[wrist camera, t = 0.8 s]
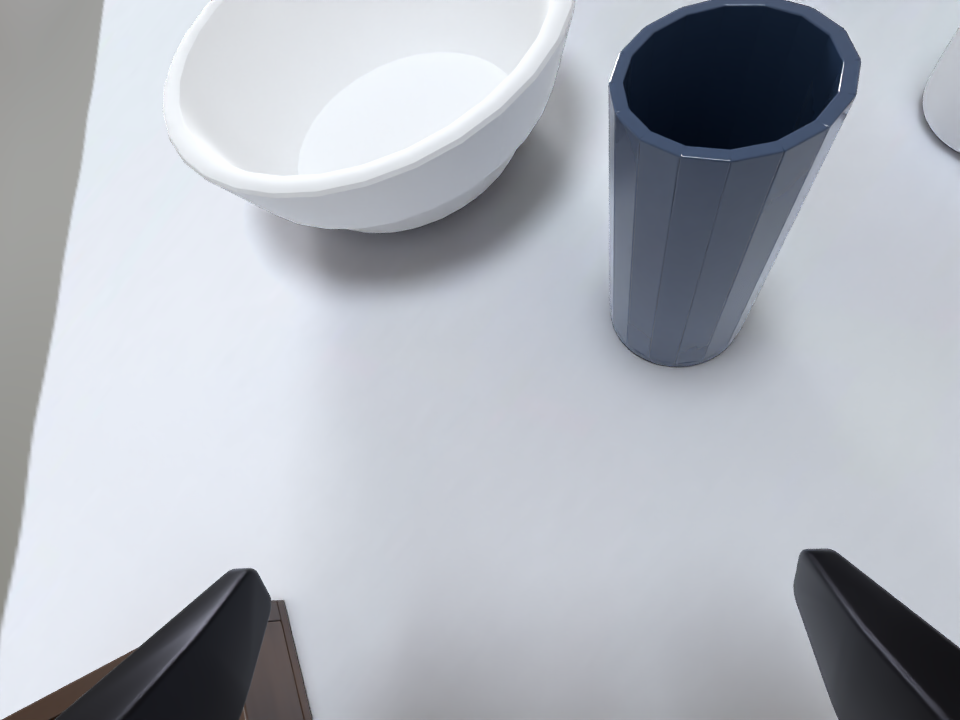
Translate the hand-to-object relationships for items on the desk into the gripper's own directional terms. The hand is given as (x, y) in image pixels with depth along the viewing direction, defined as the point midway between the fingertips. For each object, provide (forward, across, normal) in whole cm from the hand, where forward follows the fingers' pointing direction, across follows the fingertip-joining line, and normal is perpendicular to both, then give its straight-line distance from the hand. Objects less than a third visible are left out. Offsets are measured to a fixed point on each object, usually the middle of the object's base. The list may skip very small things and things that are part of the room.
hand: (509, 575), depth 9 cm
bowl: (+30, +7, -4) cm, 31 cm away
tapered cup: (+18, -7, +4) cm, 20 cm away
